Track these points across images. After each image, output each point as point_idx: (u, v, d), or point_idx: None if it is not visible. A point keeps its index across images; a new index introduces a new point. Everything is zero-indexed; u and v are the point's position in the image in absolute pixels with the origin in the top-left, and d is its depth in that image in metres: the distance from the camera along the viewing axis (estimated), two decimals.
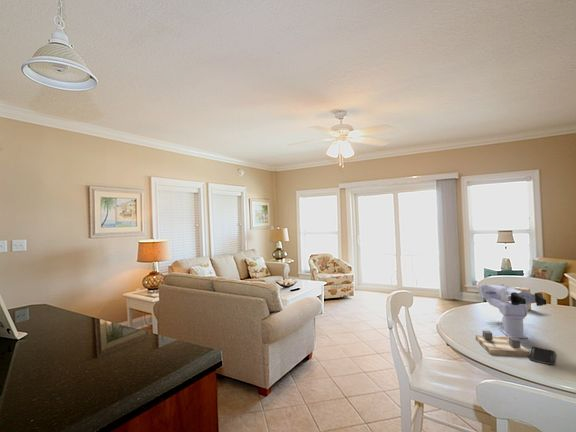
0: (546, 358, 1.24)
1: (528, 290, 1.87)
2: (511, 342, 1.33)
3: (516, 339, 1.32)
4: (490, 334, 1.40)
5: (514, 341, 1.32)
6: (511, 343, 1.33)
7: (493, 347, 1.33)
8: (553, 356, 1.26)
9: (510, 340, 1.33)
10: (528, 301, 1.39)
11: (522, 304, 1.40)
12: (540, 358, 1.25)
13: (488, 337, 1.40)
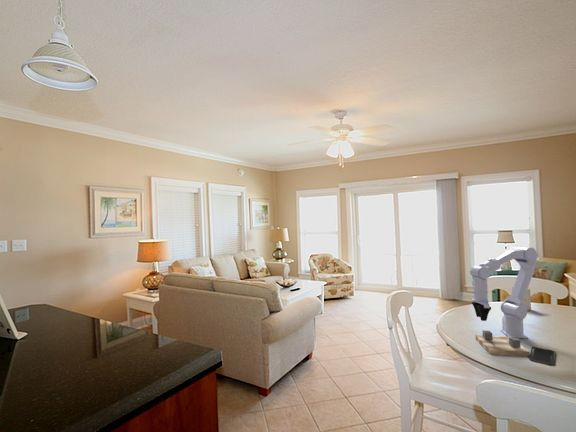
0: (546, 358, 1.24)
1: (528, 290, 1.87)
2: (511, 342, 1.33)
3: (516, 339, 1.32)
4: (490, 334, 1.40)
5: (514, 341, 1.32)
6: (511, 343, 1.33)
7: (493, 347, 1.33)
8: (553, 356, 1.26)
9: (510, 340, 1.33)
10: None
11: None
12: (540, 358, 1.25)
13: (488, 337, 1.40)
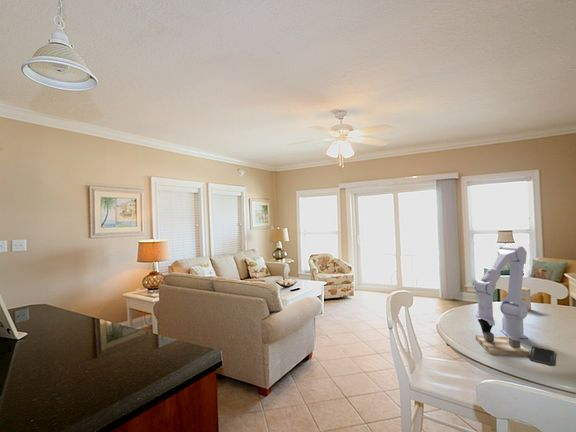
0: (546, 358, 1.24)
1: (528, 290, 1.87)
2: (511, 342, 1.33)
3: (516, 339, 1.32)
4: (491, 335, 1.39)
5: (514, 341, 1.32)
6: (511, 343, 1.33)
7: (493, 347, 1.33)
8: (553, 356, 1.26)
9: (510, 340, 1.33)
10: None
11: None
12: (540, 358, 1.25)
13: (489, 338, 1.39)
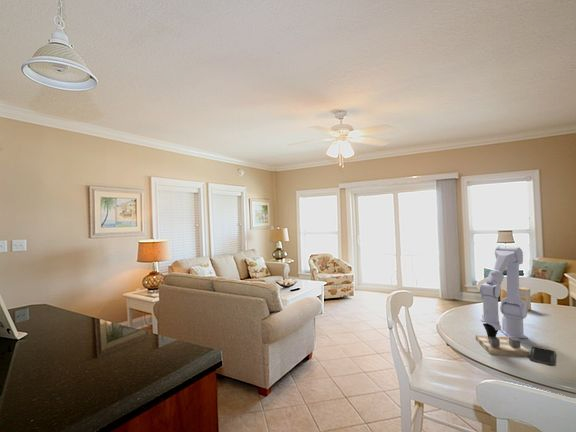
0: (546, 358, 1.24)
1: (528, 290, 1.87)
2: (511, 342, 1.33)
3: (516, 339, 1.32)
4: (497, 340, 1.33)
5: (514, 341, 1.32)
6: (511, 343, 1.33)
7: (493, 347, 1.33)
8: (553, 356, 1.26)
9: (510, 340, 1.33)
10: None
11: None
12: (540, 358, 1.25)
13: (495, 343, 1.33)
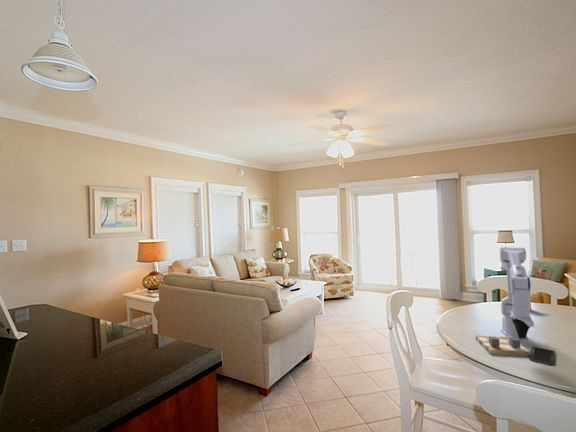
0: (546, 358, 1.24)
1: (528, 290, 1.87)
2: (511, 342, 1.33)
3: (516, 339, 1.32)
4: (497, 340, 1.33)
5: (514, 341, 1.32)
6: (511, 343, 1.33)
7: (493, 347, 1.33)
8: (553, 356, 1.26)
9: (510, 340, 1.33)
10: None
11: None
12: (540, 358, 1.25)
13: (495, 343, 1.33)
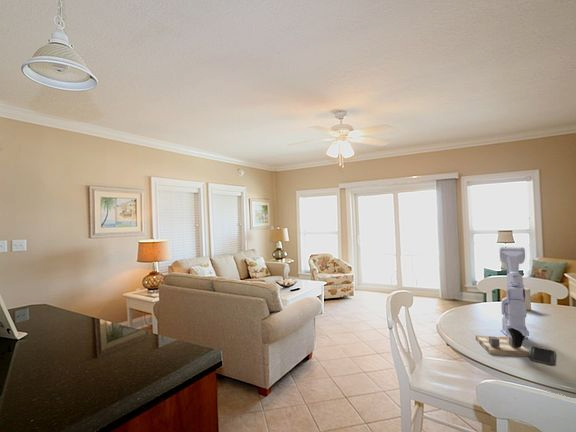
0: (546, 358, 1.24)
1: (528, 290, 1.87)
2: (511, 342, 1.33)
3: None
4: (497, 340, 1.33)
5: None
6: (511, 343, 1.33)
7: (493, 347, 1.33)
8: (553, 356, 1.26)
9: (510, 340, 1.34)
10: None
11: None
12: (541, 358, 1.25)
13: (495, 343, 1.33)
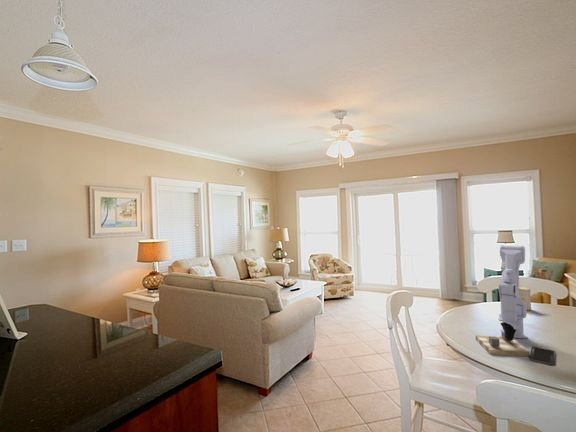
0: (546, 358, 1.24)
1: (528, 290, 1.87)
2: (503, 336, 1.40)
3: None
4: (497, 340, 1.33)
5: None
6: (503, 337, 1.40)
7: (493, 347, 1.33)
8: (553, 356, 1.26)
9: (502, 334, 1.40)
10: None
11: None
12: (541, 358, 1.25)
13: (495, 343, 1.33)
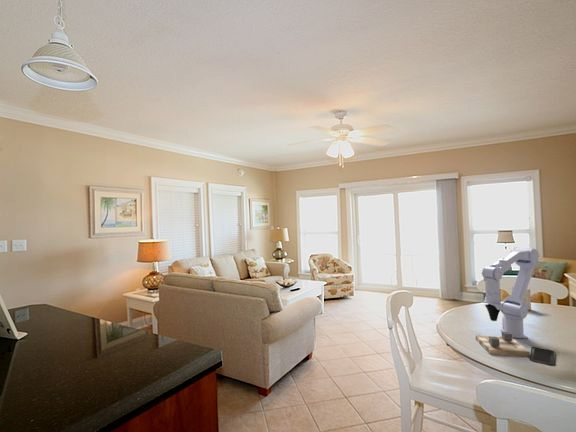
0: (546, 358, 1.24)
1: (528, 290, 1.87)
2: (503, 336, 1.40)
3: (508, 333, 1.39)
4: (497, 340, 1.33)
5: (506, 335, 1.39)
6: (503, 337, 1.40)
7: (493, 347, 1.33)
8: (553, 356, 1.26)
9: (502, 334, 1.40)
10: None
11: None
12: (541, 358, 1.25)
13: (495, 343, 1.33)
